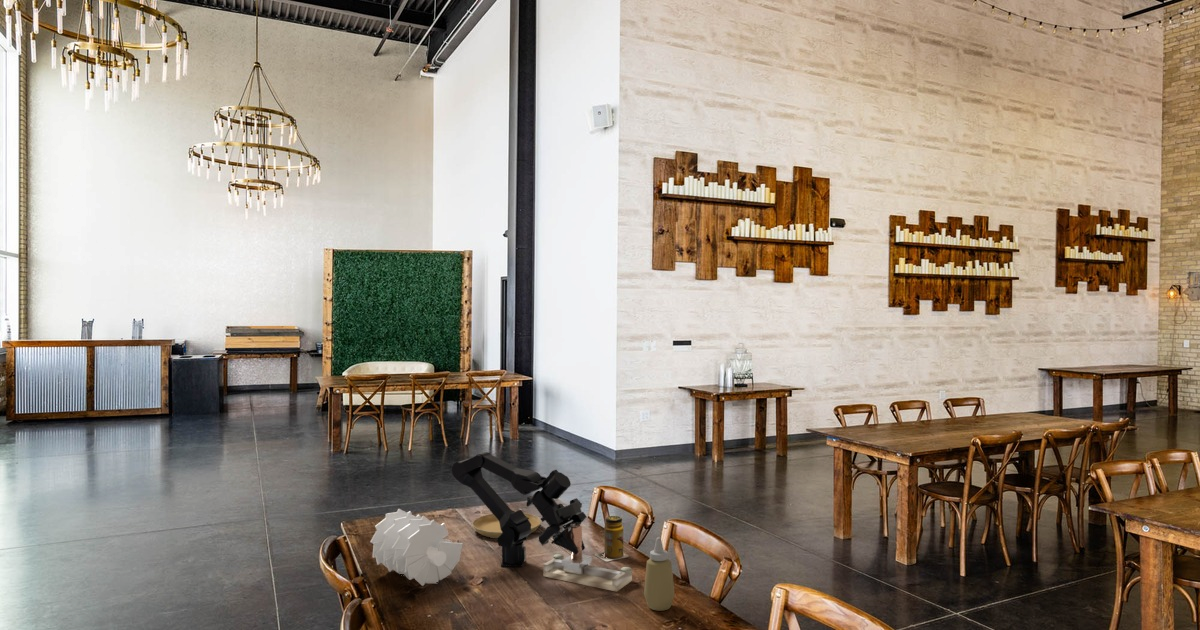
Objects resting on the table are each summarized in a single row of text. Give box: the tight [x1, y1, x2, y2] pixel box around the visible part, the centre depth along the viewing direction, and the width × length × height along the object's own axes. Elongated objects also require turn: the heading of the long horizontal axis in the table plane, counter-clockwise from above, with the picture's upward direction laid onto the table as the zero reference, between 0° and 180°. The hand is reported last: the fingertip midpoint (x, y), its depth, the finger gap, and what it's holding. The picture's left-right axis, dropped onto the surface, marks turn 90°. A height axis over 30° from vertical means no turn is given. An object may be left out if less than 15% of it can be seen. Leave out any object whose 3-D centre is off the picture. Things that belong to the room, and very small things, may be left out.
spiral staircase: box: [369, 508, 464, 587], centre depth 212 cm, size 18×18×25 cm
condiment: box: [593, 515, 630, 563], centre depth 227 cm, size 7×8×12 cm
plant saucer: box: [471, 512, 542, 539], centre depth 255 cm, size 24×24×3 cm
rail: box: [542, 553, 633, 592], centre depth 208 cm, size 26×9×4 cm, turn 60°
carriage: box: [562, 524, 593, 575], centre depth 210 cm, size 6×7×13 cm
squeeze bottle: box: [643, 537, 675, 612], centre depth 188 cm, size 8×8×18 cm
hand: (580, 551), depth 209 cm, fingers closed on carriage, 3 cm apart
